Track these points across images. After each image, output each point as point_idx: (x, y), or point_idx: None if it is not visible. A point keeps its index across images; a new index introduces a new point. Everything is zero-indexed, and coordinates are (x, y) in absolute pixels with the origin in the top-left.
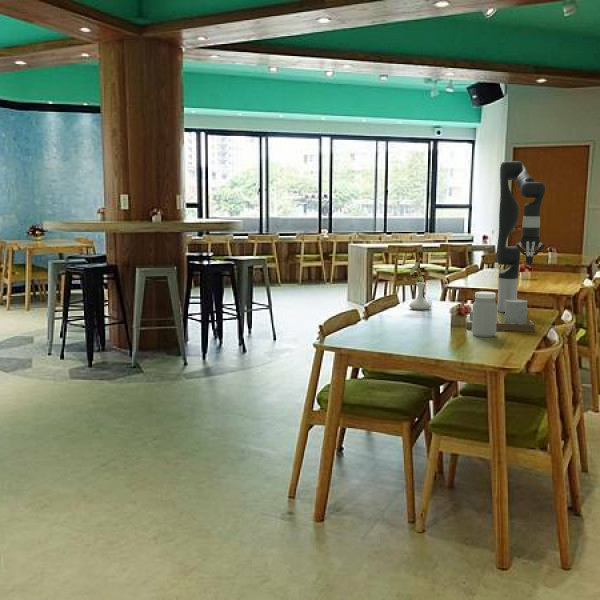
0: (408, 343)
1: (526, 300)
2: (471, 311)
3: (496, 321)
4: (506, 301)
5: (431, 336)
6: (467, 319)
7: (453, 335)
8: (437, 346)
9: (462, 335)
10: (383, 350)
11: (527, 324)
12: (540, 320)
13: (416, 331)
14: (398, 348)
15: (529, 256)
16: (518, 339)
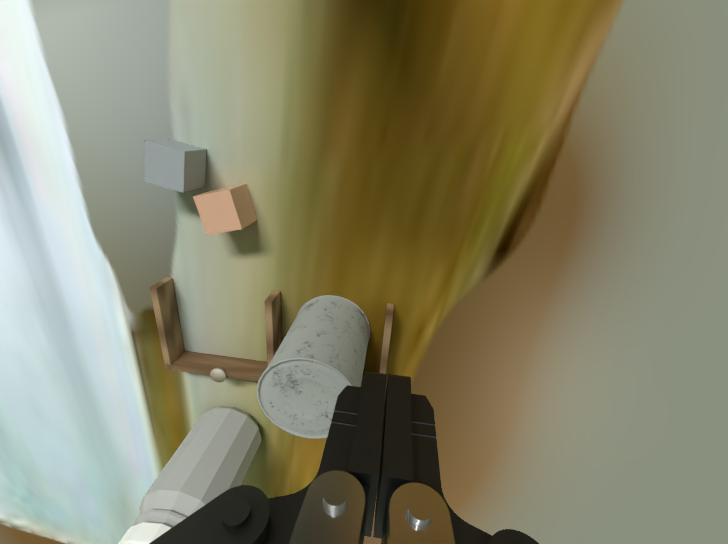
0: (85, 494)
1: None
2: (150, 177)
3: (246, 473)
4: (263, 407)
5: (110, 440)
6: (161, 321)
7: (158, 430)
8: None
9: (180, 429)
10: (63, 534)
11: None
12: (480, 154)
13: (58, 390)
14: (82, 525)
15: (371, 521)
16: (318, 466)
